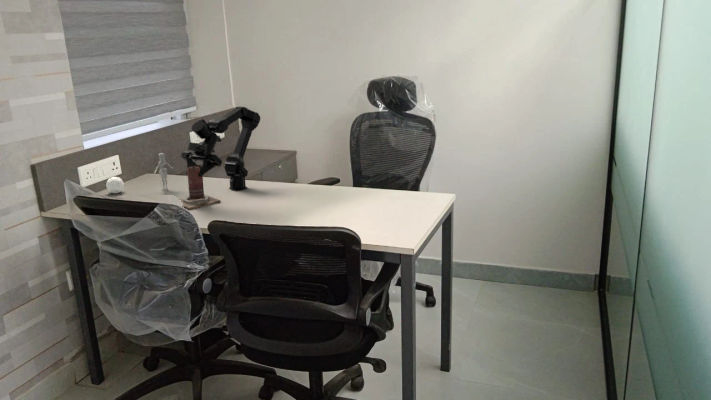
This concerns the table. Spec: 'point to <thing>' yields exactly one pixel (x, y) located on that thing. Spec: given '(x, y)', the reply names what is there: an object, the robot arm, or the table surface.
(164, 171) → the human figurine
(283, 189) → the table surface
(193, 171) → the can
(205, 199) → the cup holder
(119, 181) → the geometric ball
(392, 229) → the table surface
